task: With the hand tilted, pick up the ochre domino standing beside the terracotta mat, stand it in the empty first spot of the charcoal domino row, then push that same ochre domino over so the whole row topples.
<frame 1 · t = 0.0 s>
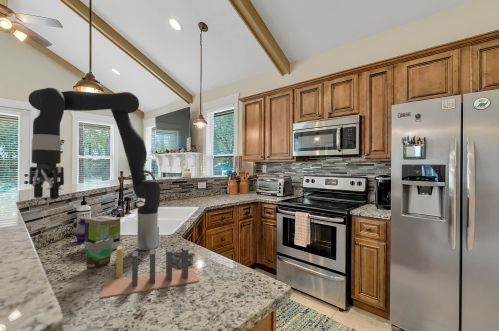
hand: (46, 198, 83), 29 cm above the counter, tool pointing down, fingers open, 8 cm apart
food container: (102, 265, 103), on the counter
egg carton: (180, 262, 106), on the counter
tea box: (102, 248, 124), on the counter
charcoal domino 4: (169, 278, 90), resting on terracotta mat
ochre domino: (119, 274, 93), on the counter
potion bottle: (82, 241, 135), on the counter
terracotta mat: (152, 281, 87), on the counter
charcoal domino 5: (184, 275, 92), resting on terracotta mat
charcoal domino 3: (152, 280, 87), resting on terracotta mat
charcoal domino 2: (134, 283, 85), resting on terracotta mat
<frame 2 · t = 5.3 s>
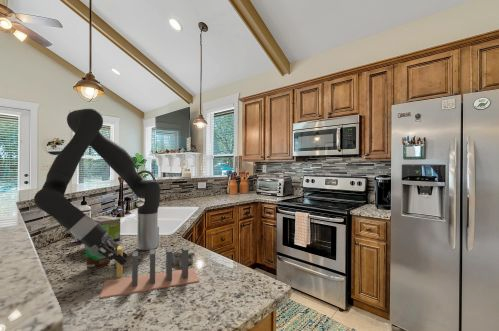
hand: (125, 260, 94), 5 cm above the counter, tool tilted 45°, fingers closed on ochre domino, 5 cm apart
ochre domino: (119, 274, 93), on the counter, touching gripper
everything else where it was.
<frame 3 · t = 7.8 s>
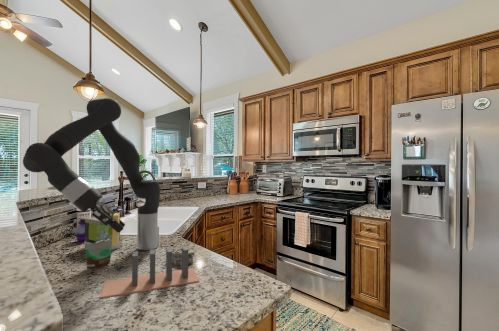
hand: (122, 228, 87), 19 cm above the counter, tool tilted 45°, fingers closed on ochre domino, 5 cm apart
ochre domino: (115, 243, 86), point 14 cm above the counter, touching gripper
everything else where it was.
when the fingers open (6 cm above the counter, at t = 10.8 s): ochre domino stays where it is, resting on terracotta mat.
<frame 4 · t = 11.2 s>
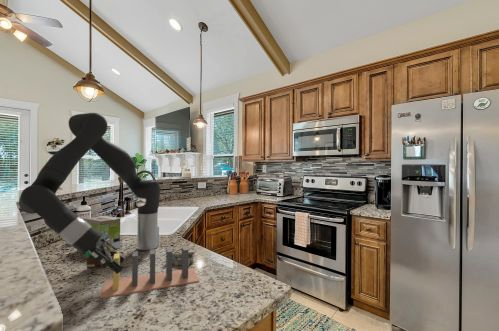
hand: (121, 266, 84), 7 cm above the counter, tool tilted 45°, fingers open, 8 cm apart
ochre domino: (116, 286, 83), resting on terracotta mat
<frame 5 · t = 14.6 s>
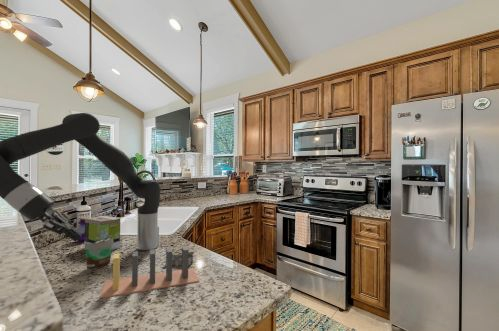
hand: (78, 238, 79), 17 cm above the counter, tool tilted 45°, fingers closed
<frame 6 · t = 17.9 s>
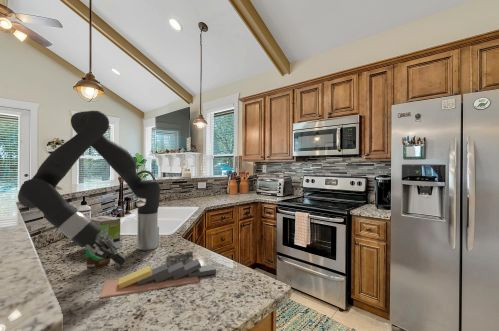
hand: (123, 262, 84), 8 cm above the counter, tool tilted 45°, fingers closed
charcoal domino 4: (172, 275, 90), point 1 cm above the counter, tilted 72°, touching charcoal domino 3, charcoal domino 5, terracotta mat
ochre domino: (119, 283, 83), point 1 cm above the counter, tilted 73°, touching charcoal domino 2, terracotta mat
charcoal domino 5: (187, 273, 92), point 1 cm above the counter, tilted 90°, touching charcoal domino 4, terracotta mat
charcoal domino 3: (155, 278, 88), point 1 cm above the counter, tilted 73°, touching charcoal domino 2, charcoal domino 4, terracotta mat
charcoal domino 2: (137, 280, 86), point 1 cm above the counter, tilted 73°, touching charcoal domino 3, ochre domino, terracotta mat
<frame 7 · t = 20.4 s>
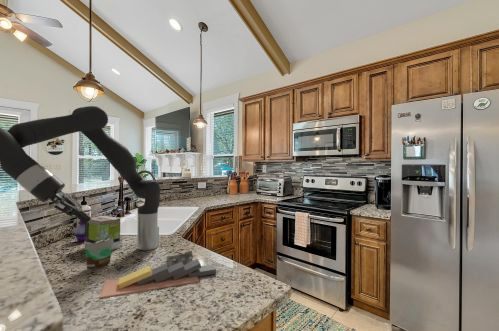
hand: (88, 220, 80), 23 cm above the counter, tool tilted 45°, fingers closed
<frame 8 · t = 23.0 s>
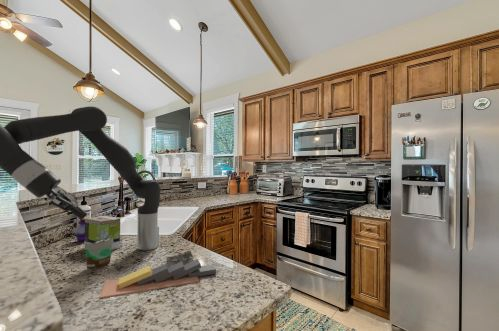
hand: (84, 216, 80), 24 cm above the counter, tool tilted 45°, fingers closed
at the end: charcoal domino 5 tilted 90°; ochre domino tilted 73°; ochre domino inside the target area on the terracotta mat (0.5 cm from its centre), point 1.2 cm above the terracotta mat's base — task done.
